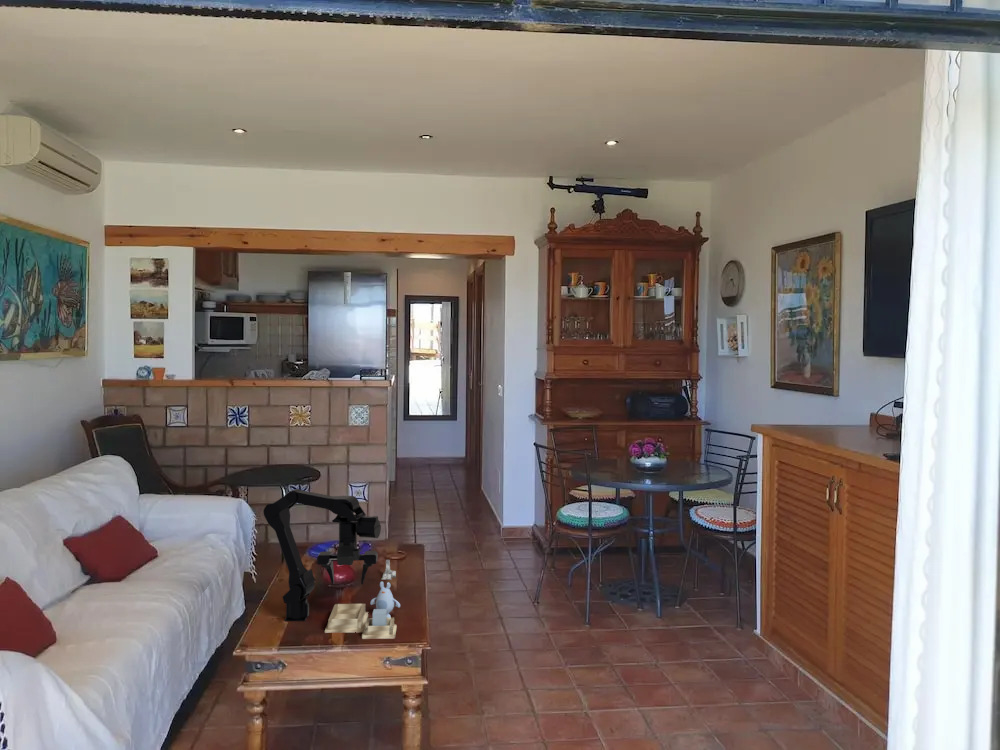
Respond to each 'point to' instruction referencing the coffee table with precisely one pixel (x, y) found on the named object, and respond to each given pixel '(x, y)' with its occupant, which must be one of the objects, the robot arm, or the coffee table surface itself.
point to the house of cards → (388, 572)
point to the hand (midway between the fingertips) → (347, 584)
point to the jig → (358, 622)
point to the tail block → (380, 617)
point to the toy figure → (385, 599)
